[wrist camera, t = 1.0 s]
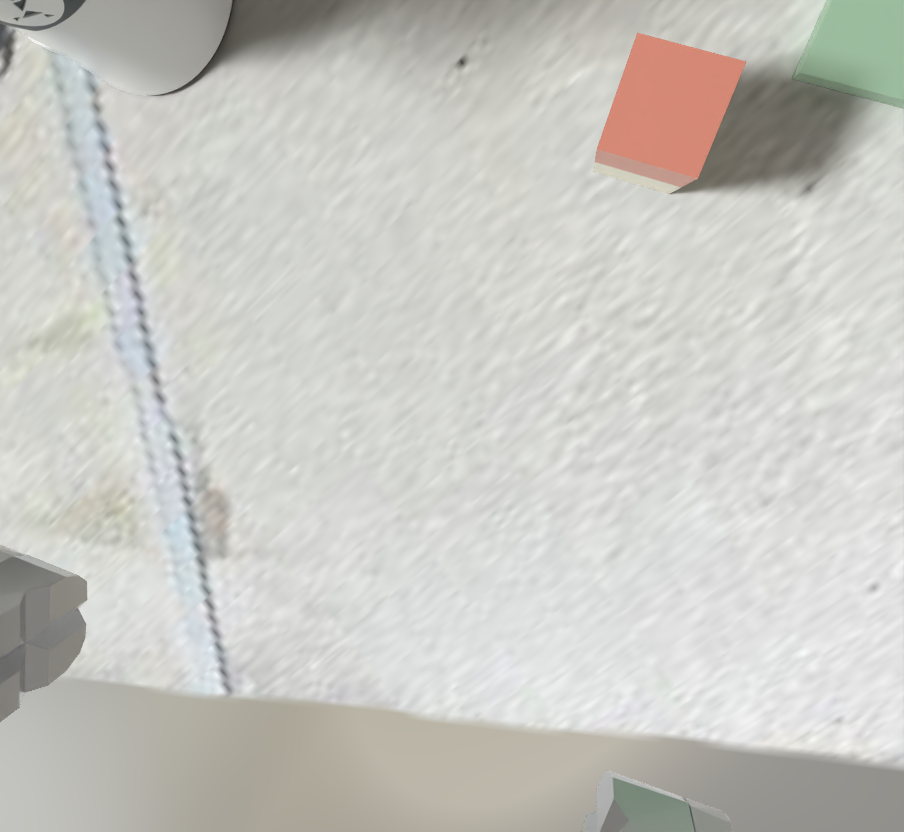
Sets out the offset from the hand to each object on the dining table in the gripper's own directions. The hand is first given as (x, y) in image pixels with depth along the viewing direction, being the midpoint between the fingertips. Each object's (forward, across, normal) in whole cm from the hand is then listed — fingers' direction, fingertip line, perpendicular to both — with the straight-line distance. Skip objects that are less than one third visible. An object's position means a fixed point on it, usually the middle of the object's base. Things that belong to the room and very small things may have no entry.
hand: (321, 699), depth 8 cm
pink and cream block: (+32, -4, -15) cm, 35 cm away
